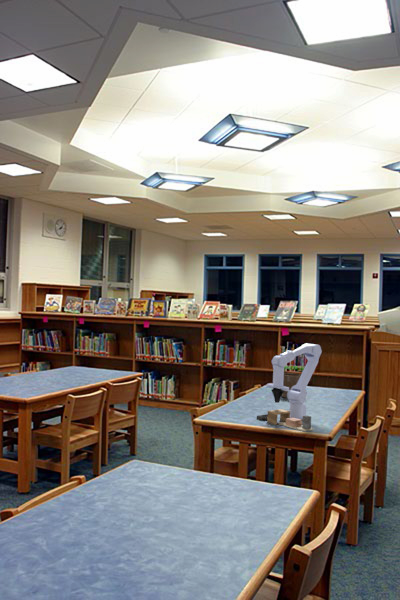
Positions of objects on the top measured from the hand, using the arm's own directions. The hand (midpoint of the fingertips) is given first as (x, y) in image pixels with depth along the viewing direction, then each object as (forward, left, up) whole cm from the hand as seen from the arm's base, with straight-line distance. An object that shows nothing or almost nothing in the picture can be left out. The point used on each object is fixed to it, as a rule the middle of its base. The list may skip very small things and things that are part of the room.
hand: (277, 402), depth 285 cm
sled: (+3, +16, -10) cm, 19 cm away
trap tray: (+3, -5, -10) cm, 12 cm away
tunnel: (+3, +4, -10) cm, 11 cm away
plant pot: (-67, -48, -10) cm, 83 cm away
